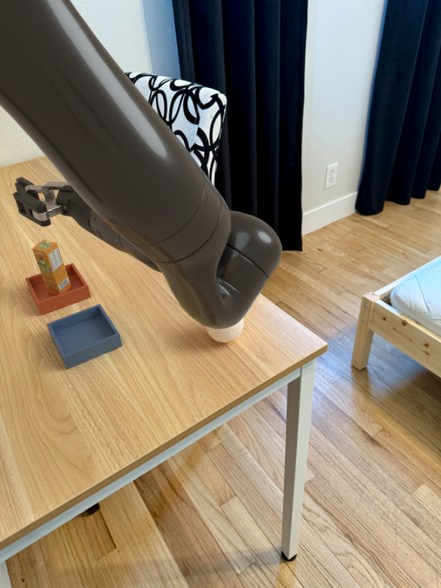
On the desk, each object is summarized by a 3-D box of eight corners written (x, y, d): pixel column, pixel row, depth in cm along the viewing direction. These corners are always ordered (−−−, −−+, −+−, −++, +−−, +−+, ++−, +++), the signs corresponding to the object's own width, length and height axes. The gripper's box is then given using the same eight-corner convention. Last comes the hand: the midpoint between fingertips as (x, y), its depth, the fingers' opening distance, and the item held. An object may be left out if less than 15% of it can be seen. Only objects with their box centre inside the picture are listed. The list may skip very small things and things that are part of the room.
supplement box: (46, 294, 78) (29, 247, 72) (58, 283, 81) (43, 237, 74) (60, 298, 77) (45, 251, 71) (72, 287, 80) (58, 241, 73)
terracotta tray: (41, 315, 75) (36, 303, 73) (29, 289, 81) (24, 278, 79) (91, 297, 78) (88, 285, 77) (76, 273, 84) (73, 262, 83)
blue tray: (66, 369, 64) (62, 357, 63) (50, 335, 70) (46, 323, 69) (122, 346, 68) (119, 334, 66) (102, 315, 74) (99, 303, 73)
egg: (200, 331, 70) (198, 294, 66) (234, 321, 72) (234, 285, 67) (214, 356, 66) (212, 319, 61) (250, 344, 68) (250, 308, 63)
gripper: (167, 162, 49) (91, 133, 59) (55, 204, 42) (-13, 162, 51) (173, 220, 54) (102, 184, 63) (73, 267, 46) (8, 219, 55)
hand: (51, 174), depth 57 cm, fingers open, 8 cm apart
